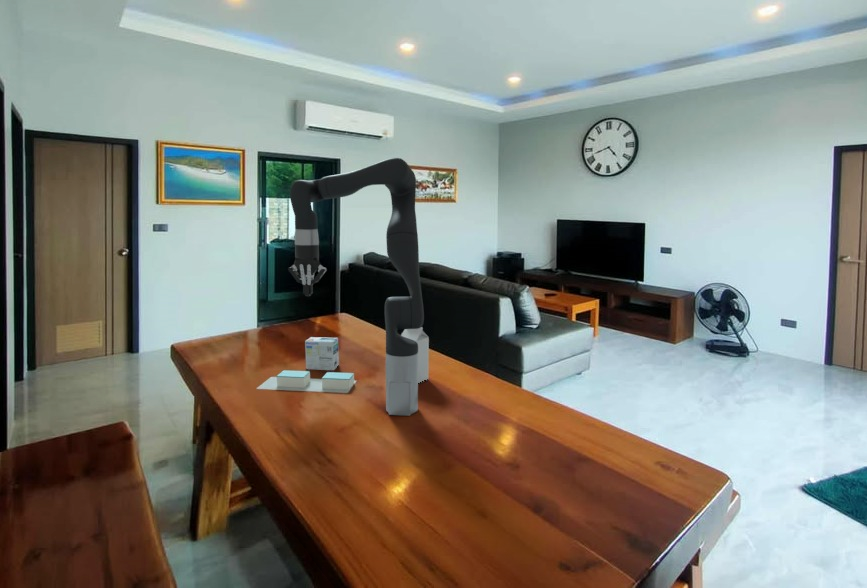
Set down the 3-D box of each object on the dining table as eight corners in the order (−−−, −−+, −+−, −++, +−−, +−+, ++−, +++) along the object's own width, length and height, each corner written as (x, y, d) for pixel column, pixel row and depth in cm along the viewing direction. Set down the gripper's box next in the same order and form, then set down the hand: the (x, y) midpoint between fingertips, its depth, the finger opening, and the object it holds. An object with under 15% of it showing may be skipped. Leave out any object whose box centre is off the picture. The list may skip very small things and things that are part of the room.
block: (322, 388, 166) (349, 389, 165) (321, 377, 166) (349, 379, 165) (327, 382, 172) (354, 383, 171) (327, 372, 171) (354, 373, 171)
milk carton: (415, 385, 170) (415, 329, 167) (399, 381, 175) (399, 326, 171) (428, 379, 176) (429, 325, 173) (412, 375, 180) (412, 322, 177)
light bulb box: (339, 365, 191) (338, 337, 189) (334, 371, 185) (333, 341, 183) (311, 364, 192) (310, 336, 190) (305, 369, 186) (304, 340, 184)
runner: (347, 393, 162) (347, 392, 162) (256, 389, 165) (256, 388, 165) (357, 380, 174) (356, 380, 174) (271, 377, 177) (271, 376, 177)
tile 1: (277, 386, 168) (304, 387, 167) (276, 376, 167) (303, 377, 166) (284, 380, 173) (310, 381, 173) (283, 370, 173) (309, 371, 172)
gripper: (282, 243, 164) (284, 297, 167) (322, 244, 163) (323, 298, 166) (291, 241, 172) (293, 293, 175) (330, 242, 170) (331, 294, 173)
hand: (308, 295), depth 170 cm, fingers closed
